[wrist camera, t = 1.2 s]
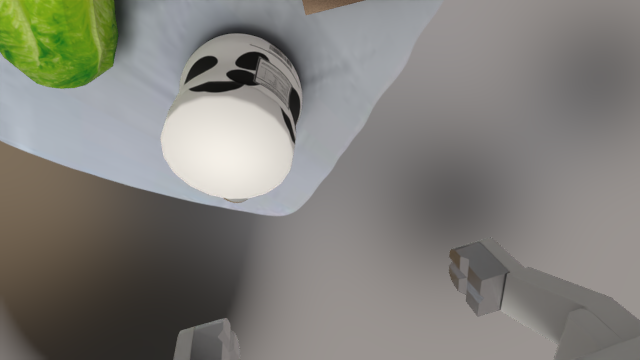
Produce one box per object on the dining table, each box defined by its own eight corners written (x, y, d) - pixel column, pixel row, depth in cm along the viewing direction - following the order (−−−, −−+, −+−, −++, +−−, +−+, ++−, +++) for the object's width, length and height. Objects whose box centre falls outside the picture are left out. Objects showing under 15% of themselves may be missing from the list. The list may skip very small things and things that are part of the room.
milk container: (197, 124, 56) (165, 201, 43) (181, 17, 44) (131, 79, 31) (297, 132, 58) (296, 208, 45) (307, 32, 46) (310, 96, 33)
